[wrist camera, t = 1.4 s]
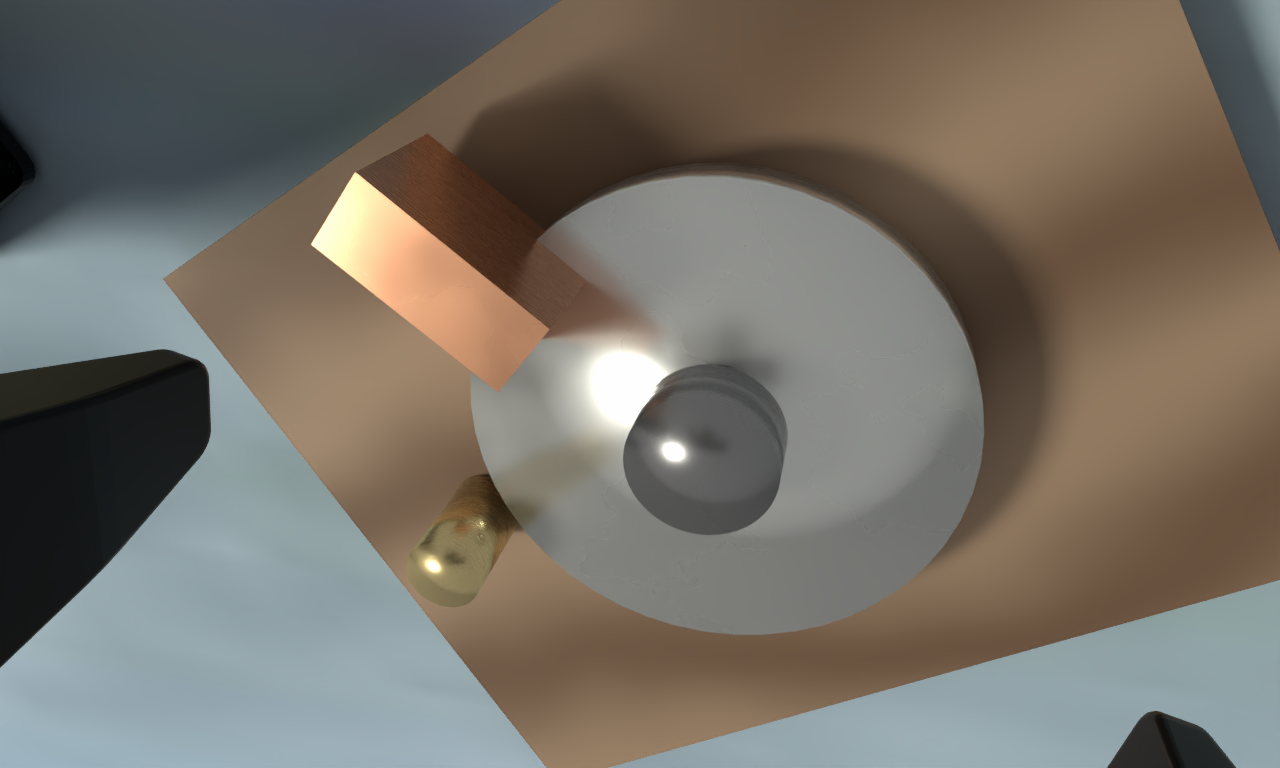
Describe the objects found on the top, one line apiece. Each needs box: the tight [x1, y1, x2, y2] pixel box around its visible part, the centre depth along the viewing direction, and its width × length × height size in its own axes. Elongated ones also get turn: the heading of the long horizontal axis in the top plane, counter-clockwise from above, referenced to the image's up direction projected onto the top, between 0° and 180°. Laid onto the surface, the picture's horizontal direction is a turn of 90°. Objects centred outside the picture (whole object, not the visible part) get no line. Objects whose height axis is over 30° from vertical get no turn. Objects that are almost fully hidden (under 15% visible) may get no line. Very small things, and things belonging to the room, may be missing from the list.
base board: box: [163, 0, 1280, 768], centre depth 23 cm, size 18×22×1 cm
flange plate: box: [311, 134, 984, 635], centre depth 20 cm, size 14×11×4 cm
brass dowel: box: [406, 474, 519, 607], centre depth 24 cm, size 2×2×3 cm
